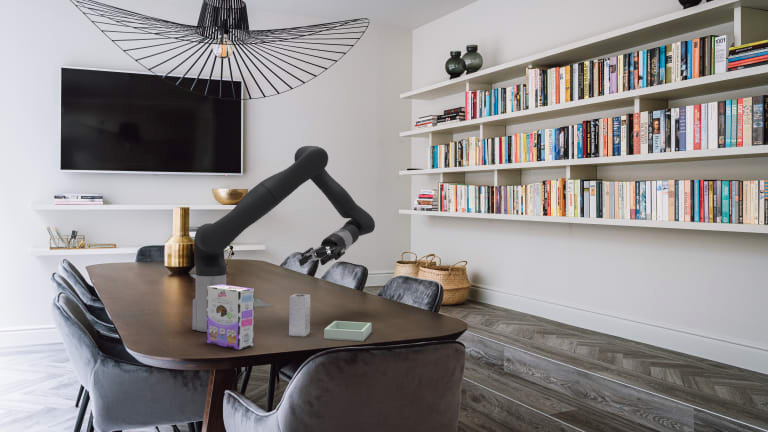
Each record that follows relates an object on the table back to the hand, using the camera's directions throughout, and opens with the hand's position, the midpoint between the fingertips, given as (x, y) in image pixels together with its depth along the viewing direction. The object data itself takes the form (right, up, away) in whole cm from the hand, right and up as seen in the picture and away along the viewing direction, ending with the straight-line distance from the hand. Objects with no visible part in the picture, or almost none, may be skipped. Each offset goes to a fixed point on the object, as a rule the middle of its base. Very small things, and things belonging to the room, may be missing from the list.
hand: (310, 262), depth 182 cm
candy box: (-20, -22, -20) cm, 36 cm away
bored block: (-3, -22, -6) cm, 22 cm away
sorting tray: (+12, -22, -6) cm, 26 cm away
